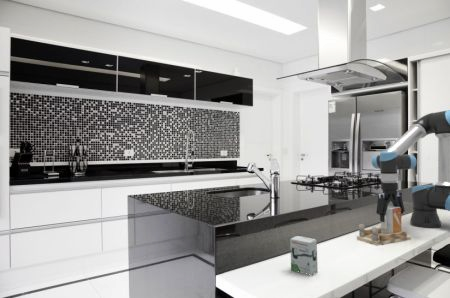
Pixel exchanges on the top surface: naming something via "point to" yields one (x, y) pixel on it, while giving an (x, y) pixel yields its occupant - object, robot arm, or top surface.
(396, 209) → the small box
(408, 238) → the board
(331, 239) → the top surface
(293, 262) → the ink box
